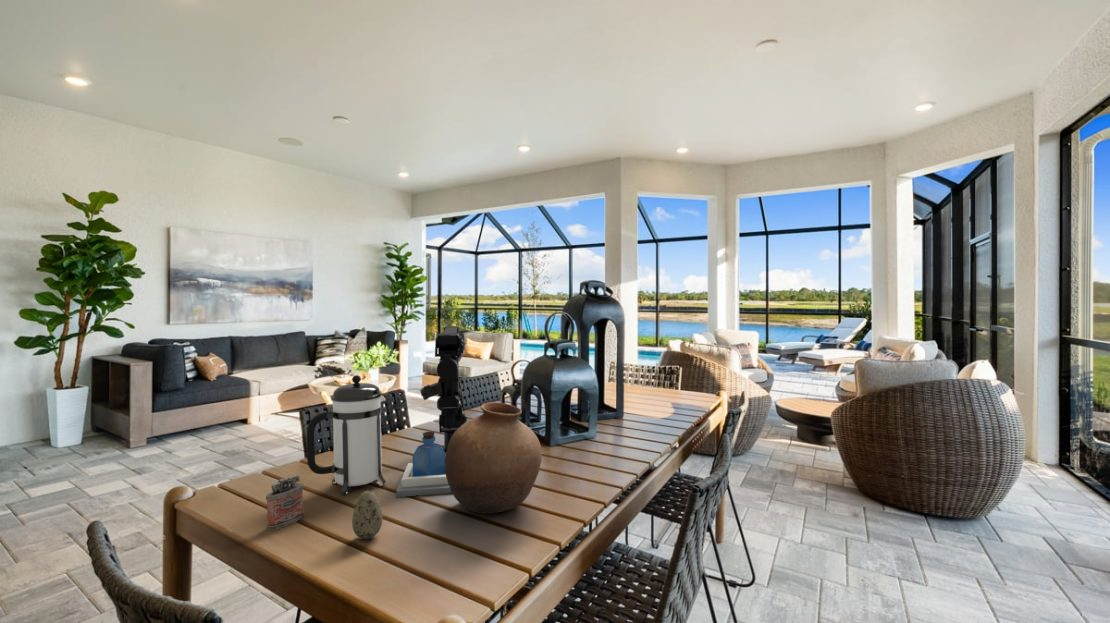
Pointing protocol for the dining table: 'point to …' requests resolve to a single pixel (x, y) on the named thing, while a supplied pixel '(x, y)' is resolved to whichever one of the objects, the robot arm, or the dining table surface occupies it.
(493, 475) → the pottery
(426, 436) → the perfume bottle
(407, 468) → the socket board
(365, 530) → the decorative egg
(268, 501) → the lighter
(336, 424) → the coffee press
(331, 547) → the dining table surface
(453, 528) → the dining table surface
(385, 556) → the dining table surface
